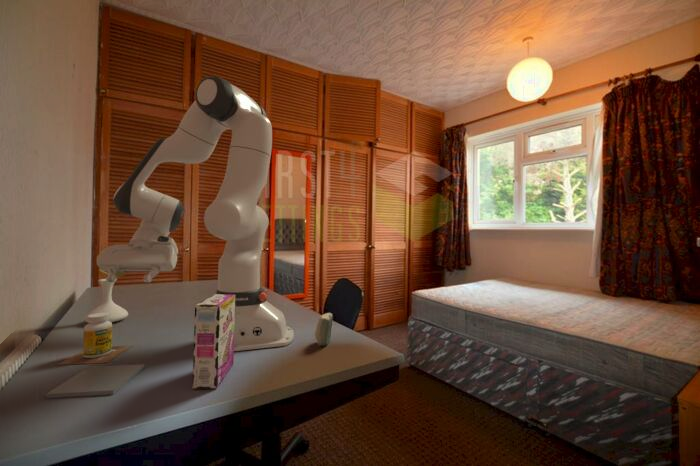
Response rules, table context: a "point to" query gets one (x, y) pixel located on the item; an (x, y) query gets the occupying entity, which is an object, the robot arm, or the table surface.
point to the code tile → (107, 358)
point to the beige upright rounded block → (324, 329)
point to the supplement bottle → (97, 336)
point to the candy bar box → (213, 340)
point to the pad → (96, 381)
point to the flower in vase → (109, 299)
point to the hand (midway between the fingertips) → (128, 281)
